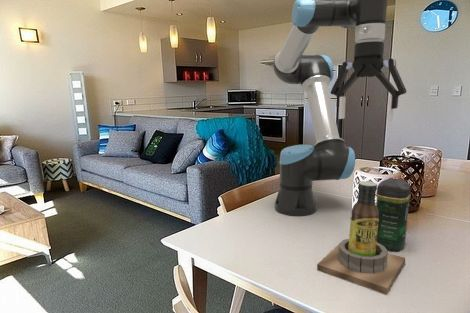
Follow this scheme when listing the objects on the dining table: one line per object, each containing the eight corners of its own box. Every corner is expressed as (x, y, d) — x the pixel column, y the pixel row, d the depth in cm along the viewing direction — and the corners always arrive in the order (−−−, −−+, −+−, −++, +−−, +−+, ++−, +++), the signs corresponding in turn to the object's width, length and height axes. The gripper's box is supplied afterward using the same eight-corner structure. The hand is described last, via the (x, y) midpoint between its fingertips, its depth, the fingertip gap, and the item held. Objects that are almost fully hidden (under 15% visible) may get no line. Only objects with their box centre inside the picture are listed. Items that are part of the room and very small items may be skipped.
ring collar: (317, 269, 79) (317, 250, 78) (342, 245, 91) (343, 228, 90) (386, 294, 69) (388, 273, 68) (405, 263, 81) (406, 244, 80)
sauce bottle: (353, 268, 77) (358, 187, 73) (343, 255, 83) (347, 179, 79) (380, 267, 77) (386, 186, 73) (368, 254, 83) (373, 179, 79)
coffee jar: (402, 254, 86) (407, 186, 82) (370, 246, 90) (374, 182, 86) (407, 240, 93) (413, 178, 90) (378, 234, 98) (382, 174, 94)
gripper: (320, 45, 94) (318, 118, 99) (416, 35, 78) (408, 123, 83) (332, 47, 100) (329, 116, 104) (423, 38, 84) (415, 120, 88)
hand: (364, 119), depth 93 cm, fingers open, 13 cm apart
